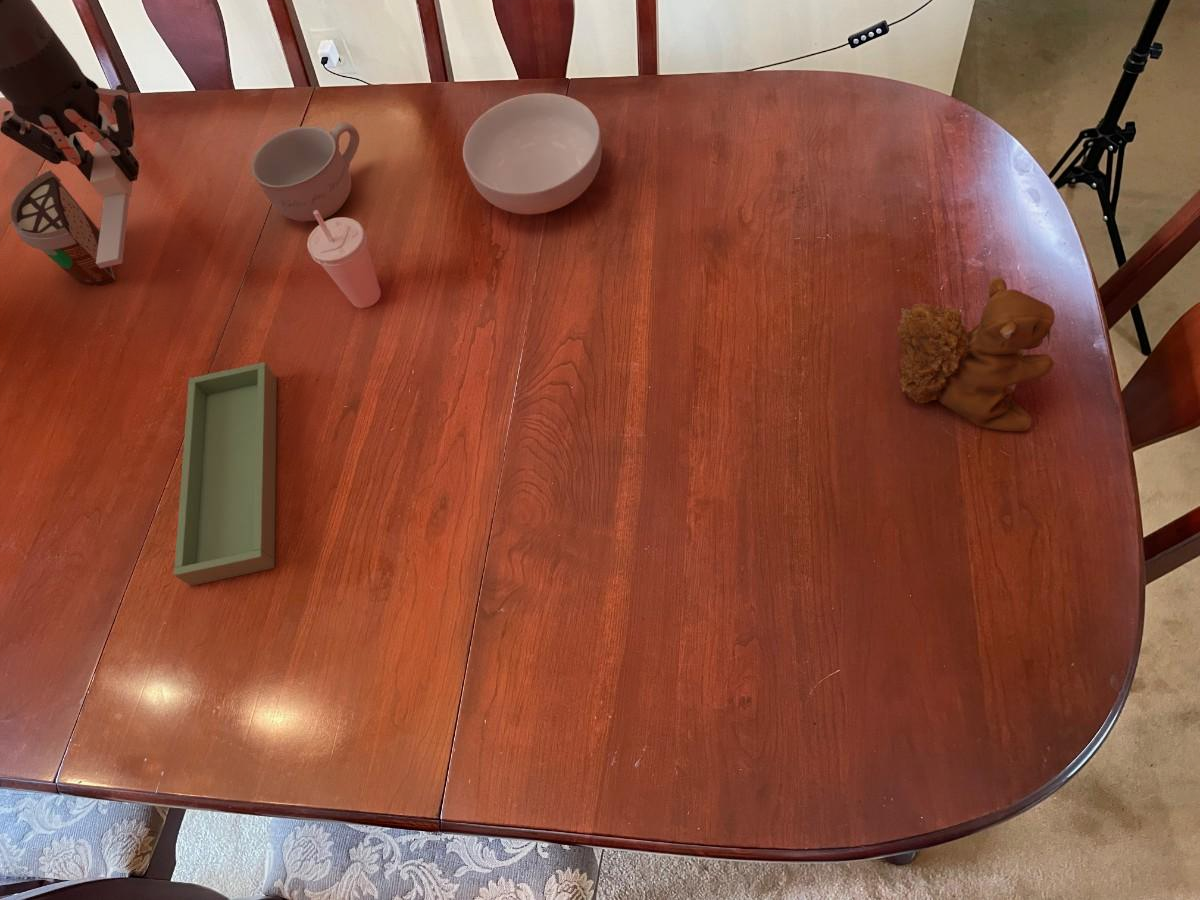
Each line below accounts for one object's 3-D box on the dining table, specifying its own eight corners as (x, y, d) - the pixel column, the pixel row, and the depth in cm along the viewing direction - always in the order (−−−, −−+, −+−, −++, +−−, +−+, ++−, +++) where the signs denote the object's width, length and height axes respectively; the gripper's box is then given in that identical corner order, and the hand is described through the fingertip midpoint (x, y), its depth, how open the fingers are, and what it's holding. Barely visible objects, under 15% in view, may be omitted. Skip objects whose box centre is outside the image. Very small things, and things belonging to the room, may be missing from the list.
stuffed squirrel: (1034, 435, 82) (1087, 356, 71) (883, 423, 85) (911, 344, 73) (1027, 352, 87) (1076, 265, 76) (884, 342, 89) (910, 256, 78)
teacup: (297, 247, 106) (268, 199, 99) (265, 198, 111) (235, 149, 104) (395, 195, 108) (373, 145, 101) (359, 149, 113) (337, 99, 106)
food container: (54, 245, 110) (-1, 187, 102) (100, 226, 111) (49, 167, 103) (69, 308, 104) (12, 252, 96) (117, 288, 105) (65, 230, 97)
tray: (274, 568, 84) (260, 556, 81) (189, 586, 84) (173, 575, 81) (276, 376, 96) (264, 361, 93) (202, 392, 96) (188, 377, 93)
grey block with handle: (113, 149, 99) (97, 128, 96) (137, 143, 99) (121, 122, 96) (98, 269, 89) (80, 249, 86) (124, 263, 89) (106, 243, 86)
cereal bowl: (482, 141, 111) (470, 96, 105) (608, 134, 110) (603, 87, 103) (468, 238, 103) (453, 195, 97) (603, 232, 101) (597, 187, 95)
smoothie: (328, 303, 100) (276, 218, 88) (363, 267, 103) (318, 178, 91) (367, 324, 98) (320, 239, 86) (403, 287, 100) (362, 199, 88)
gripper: (86, 1, 82) (182, 143, 97) (-55, 33, 82) (62, 171, 97) (78, 47, 79) (178, 188, 94) (-70, 81, 78) (54, 217, 93)
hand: (119, 179), depth 95 cm, fingers closed on grey block with handle, 3 cm apart
